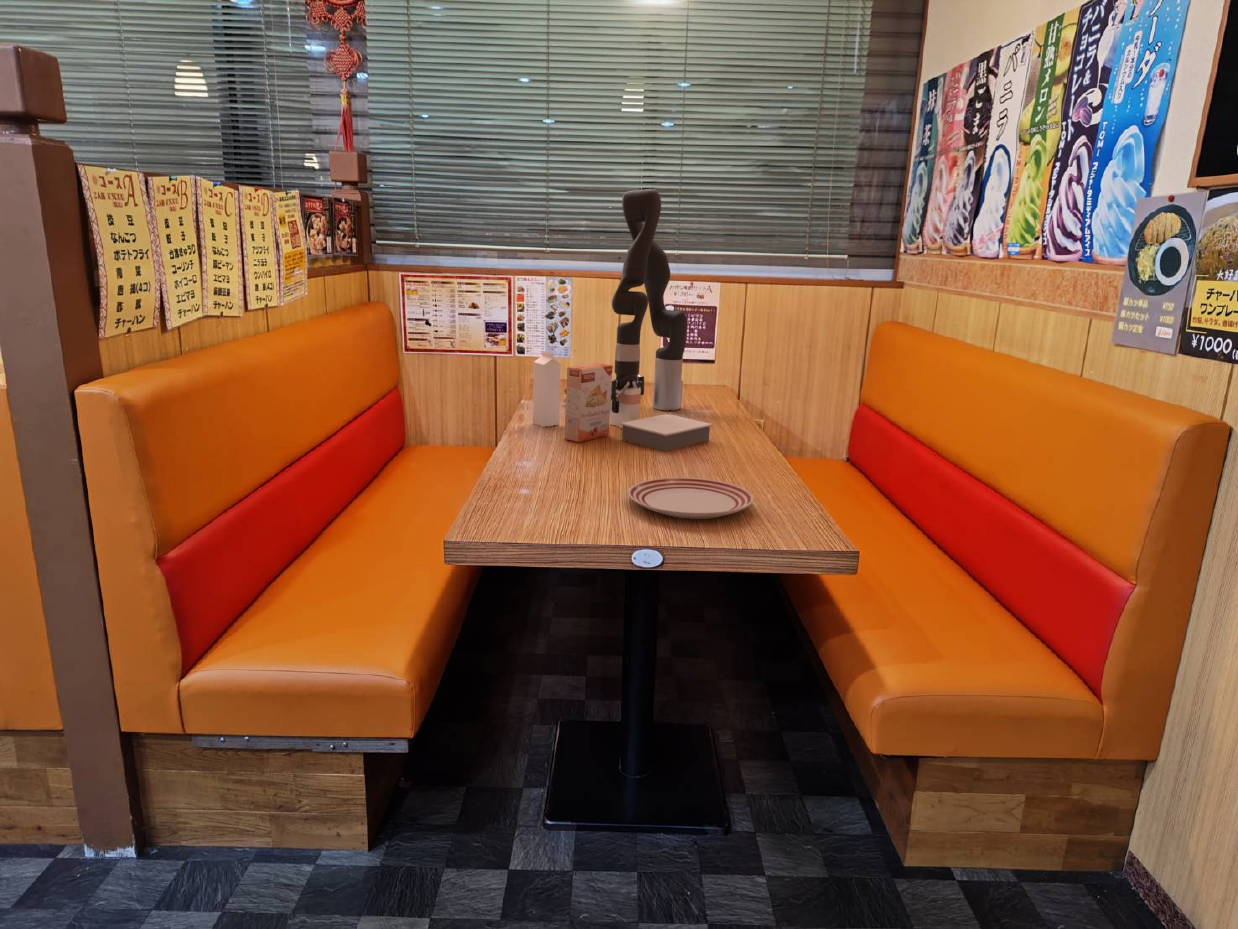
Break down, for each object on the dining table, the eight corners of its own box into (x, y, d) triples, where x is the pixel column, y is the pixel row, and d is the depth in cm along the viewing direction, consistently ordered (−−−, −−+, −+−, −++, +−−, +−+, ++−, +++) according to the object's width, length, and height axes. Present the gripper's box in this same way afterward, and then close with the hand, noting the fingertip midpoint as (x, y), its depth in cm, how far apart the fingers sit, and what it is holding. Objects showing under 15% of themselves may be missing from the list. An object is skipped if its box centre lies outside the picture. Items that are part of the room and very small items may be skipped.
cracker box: (579, 443, 229) (582, 369, 223) (563, 439, 232) (565, 366, 227) (610, 435, 240) (613, 364, 234) (594, 432, 243) (597, 361, 238)
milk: (542, 427, 247) (543, 354, 241) (532, 423, 251) (533, 351, 245) (559, 425, 250) (561, 353, 244) (549, 421, 255) (550, 350, 249)
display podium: (666, 430, 250) (667, 413, 249) (711, 440, 239) (712, 424, 238) (619, 439, 235) (620, 422, 234) (664, 452, 224) (665, 434, 223)
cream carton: (619, 422, 257) (621, 384, 254) (639, 427, 252) (641, 388, 249) (609, 424, 254) (611, 386, 251) (628, 429, 249) (630, 390, 246)
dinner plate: (601, 502, 180) (601, 488, 179) (683, 481, 199) (684, 468, 198) (696, 537, 161) (698, 521, 160) (777, 510, 180) (779, 496, 179)
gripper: (634, 355, 255) (631, 406, 259) (602, 358, 245) (599, 411, 249) (652, 358, 250) (649, 410, 254) (620, 361, 240) (617, 416, 244)
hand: (624, 411), depth 252 cm, fingers open, 8 cm apart
